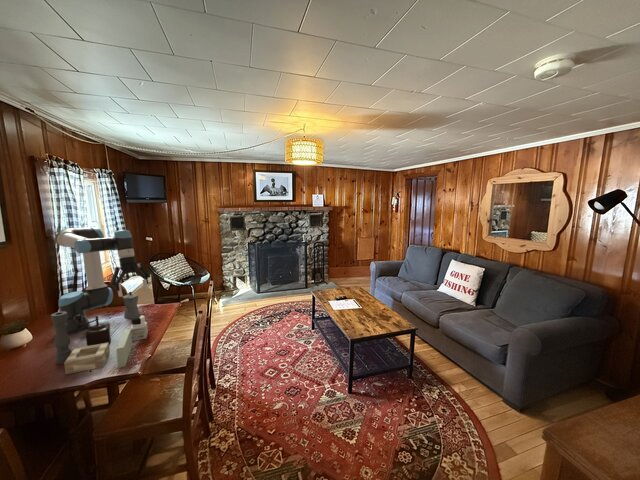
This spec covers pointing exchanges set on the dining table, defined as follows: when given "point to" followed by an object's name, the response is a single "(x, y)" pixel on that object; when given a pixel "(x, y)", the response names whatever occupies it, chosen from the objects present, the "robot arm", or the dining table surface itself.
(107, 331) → the coffee grinder
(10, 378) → the dining table surface
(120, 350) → the backstop wall
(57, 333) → the candle holder
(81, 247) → the robot arm
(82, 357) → the socket block
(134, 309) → the coffeepot
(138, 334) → the container
